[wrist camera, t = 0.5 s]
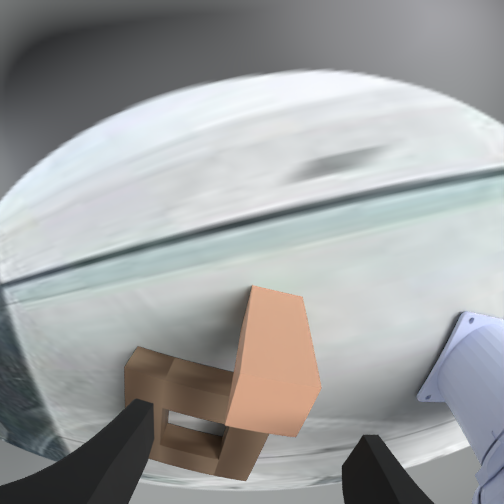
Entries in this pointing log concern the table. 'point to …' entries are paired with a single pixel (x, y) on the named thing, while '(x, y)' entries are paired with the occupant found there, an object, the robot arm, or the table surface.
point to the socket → (191, 414)
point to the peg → (273, 366)
